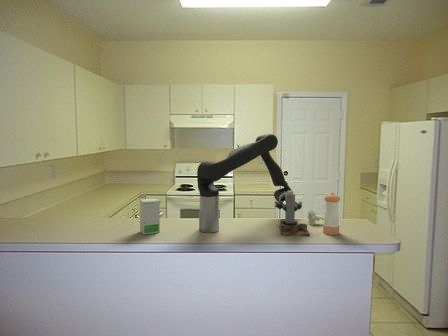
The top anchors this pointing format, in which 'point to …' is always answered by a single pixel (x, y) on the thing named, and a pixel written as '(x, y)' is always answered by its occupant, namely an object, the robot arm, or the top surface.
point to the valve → (313, 217)
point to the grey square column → (290, 207)
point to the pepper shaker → (331, 215)
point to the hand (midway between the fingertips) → (290, 209)
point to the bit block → (293, 229)
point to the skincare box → (149, 216)
